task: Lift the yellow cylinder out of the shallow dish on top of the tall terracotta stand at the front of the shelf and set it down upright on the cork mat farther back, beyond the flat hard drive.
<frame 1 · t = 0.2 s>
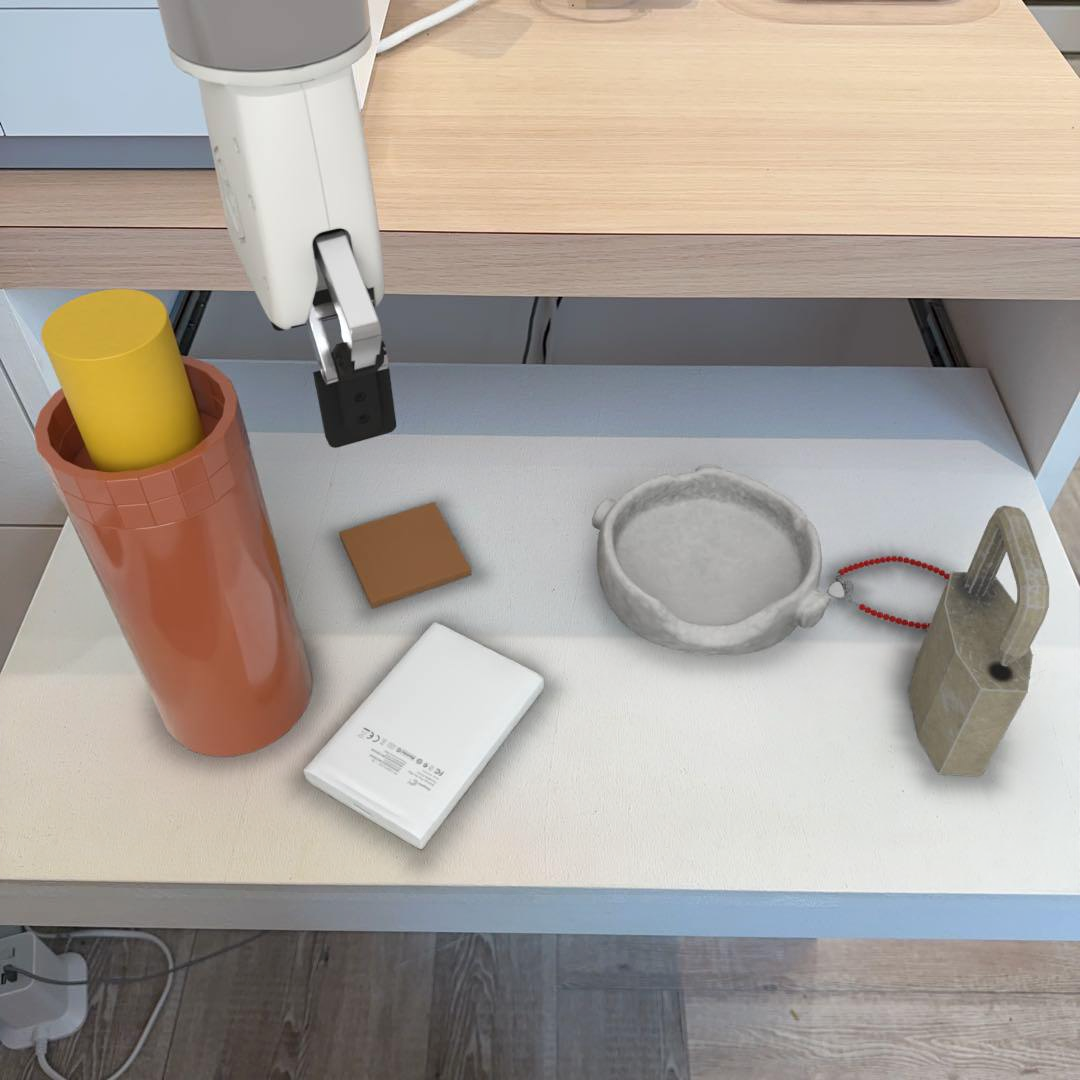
hand: (331, 376, 52), 22 cm above the table, tool pointing down, fingers open, 9 cm apart
mat: (404, 556, 73), on the table
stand: (237, 693, 65), on the table
necklace: (892, 594, 71), on the table
padlock: (945, 717, 64), on the table
dish: (700, 585, 71), on the table
hard drive: (429, 737, 63), on the table
yellow cylinder: (154, 461, 52), point 19 cm above the table, touching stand
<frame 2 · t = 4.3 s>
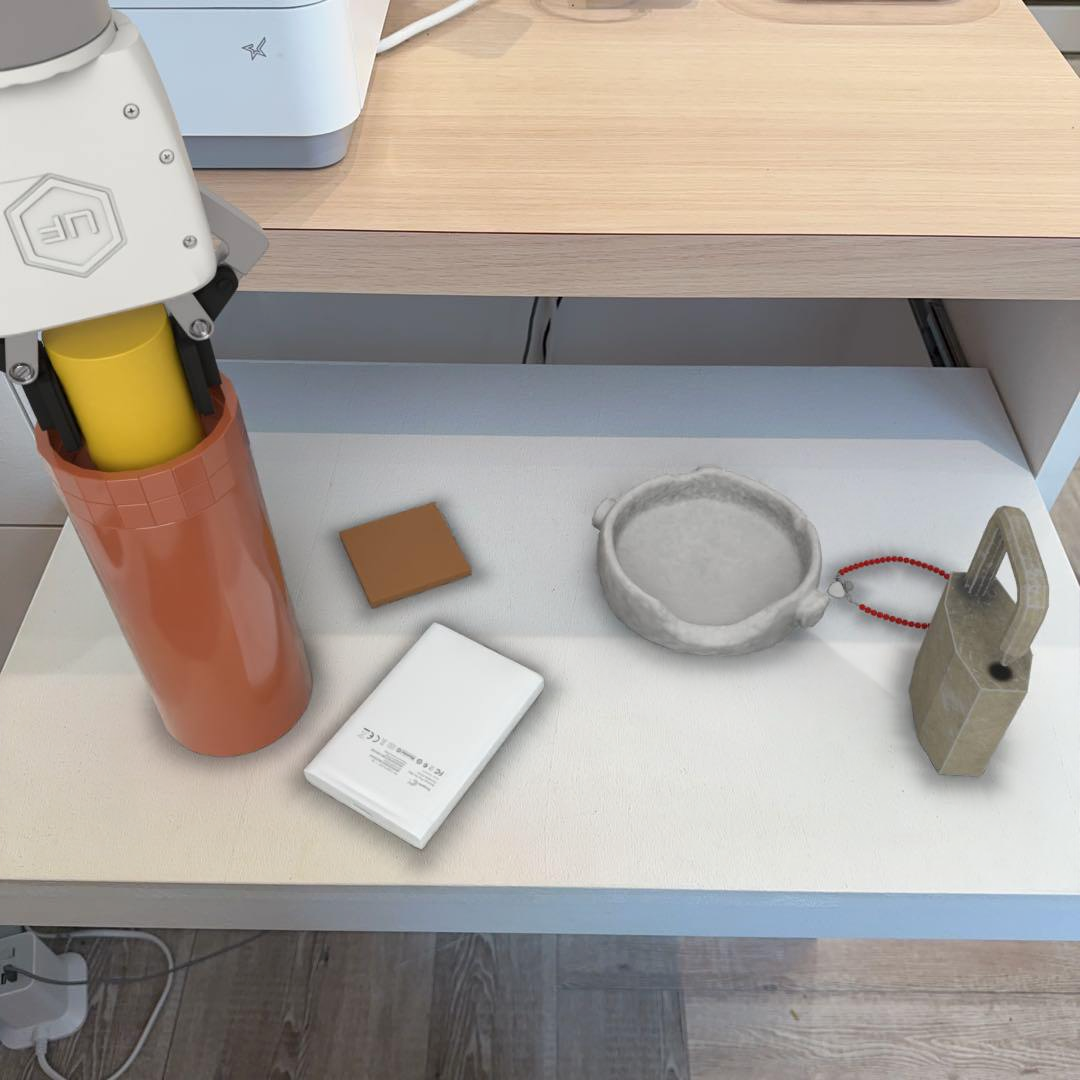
hand: (136, 412, 49), 22 cm above the table, tool pointing down, fingers closed on yellow cylinder, 5 cm apart
yellow cylinder: (154, 461, 52), point 19 cm above the table, touching gripper, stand
everything else where it was.
when the fingers open (4 cm above the table, at t = 12.6 s): yellow cylinder stays where it is, resting on mat.
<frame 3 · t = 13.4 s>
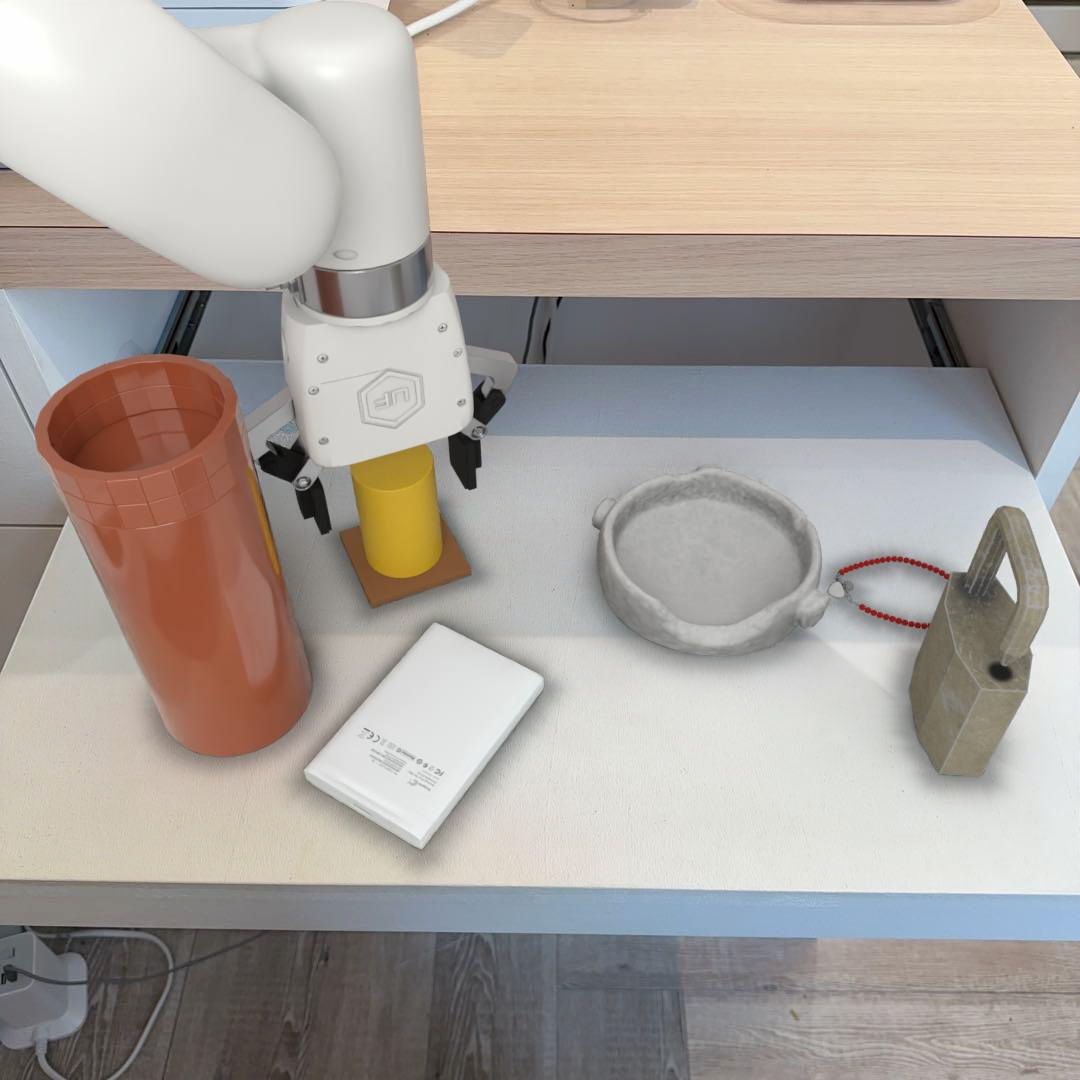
hand: (393, 497, 69), 6 cm above the table, tool pointing down, fingers open, 9 cm apart
yellow cylinder: (404, 549, 73), point 1 cm above the table, touching mat
everything else where it was.
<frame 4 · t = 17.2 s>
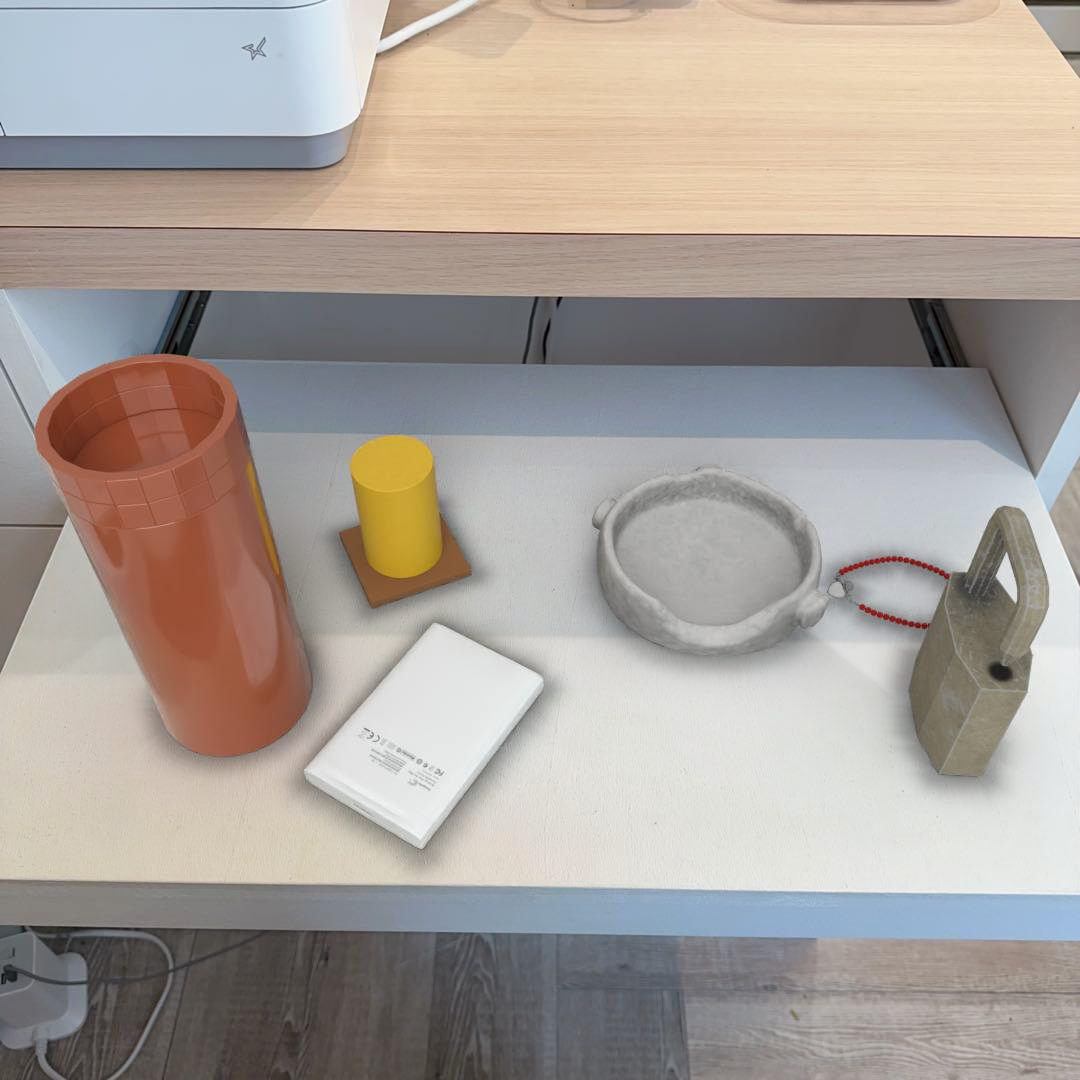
nothing on the table moved.
at the end: yellow cylinder inside the target area on the mat (0.0 cm from its centre), point 0.6 cm above the mat's base; yellow cylinder tilted 0°; yellow cylinder touching mat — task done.
